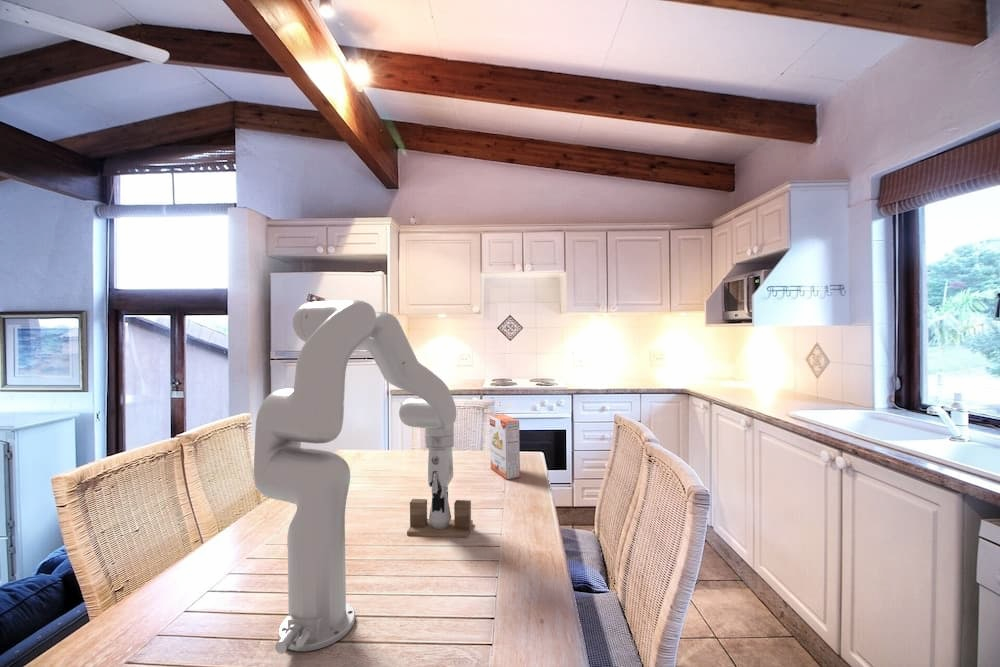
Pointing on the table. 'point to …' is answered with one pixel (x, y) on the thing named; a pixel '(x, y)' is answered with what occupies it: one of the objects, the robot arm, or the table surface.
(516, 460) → the cracker box
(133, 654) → the table surface
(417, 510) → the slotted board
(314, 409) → the robot arm
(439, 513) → the salt shaker
